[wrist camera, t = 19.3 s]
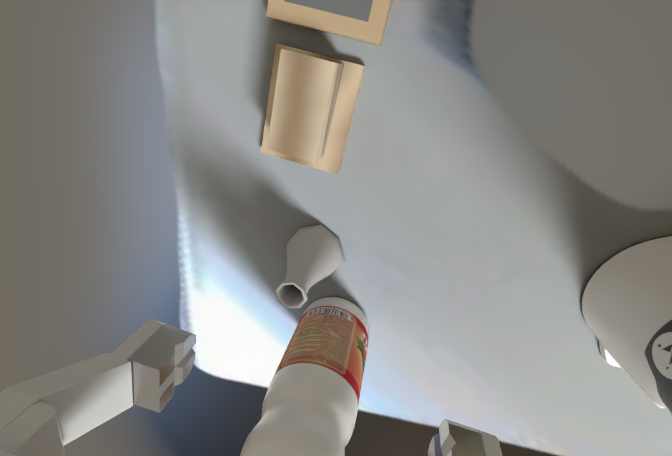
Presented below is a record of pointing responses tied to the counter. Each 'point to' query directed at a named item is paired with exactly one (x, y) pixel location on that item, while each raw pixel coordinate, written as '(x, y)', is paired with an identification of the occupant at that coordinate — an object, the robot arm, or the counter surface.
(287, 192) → the counter surface
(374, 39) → the chalkboard
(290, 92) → the block
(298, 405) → the fruit juice
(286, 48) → the pad
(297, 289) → the flask
